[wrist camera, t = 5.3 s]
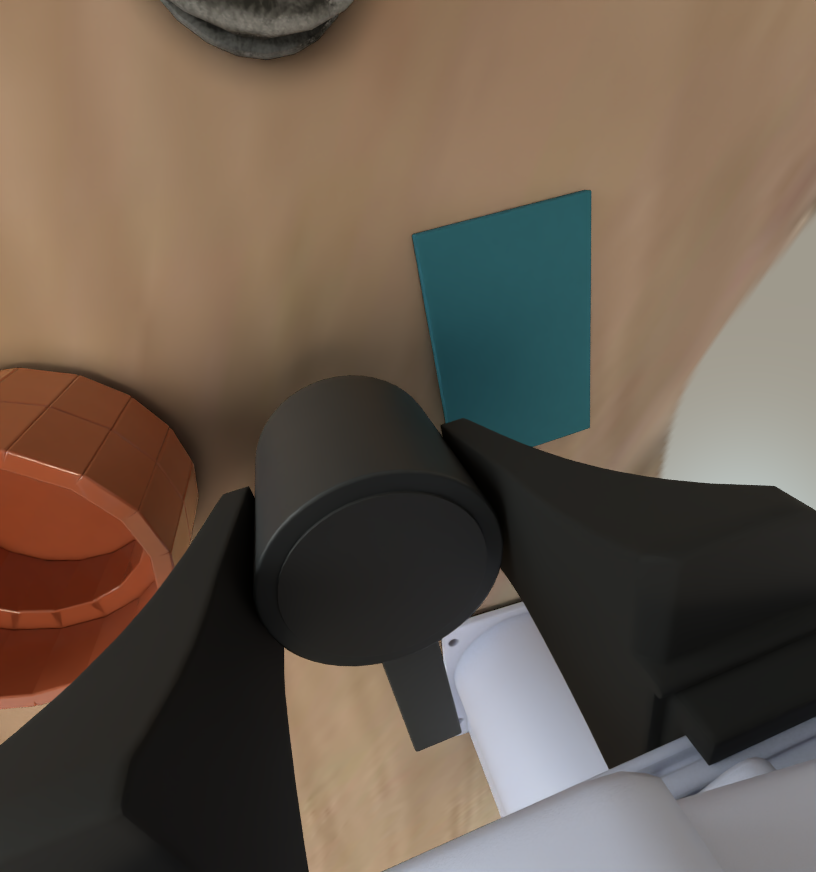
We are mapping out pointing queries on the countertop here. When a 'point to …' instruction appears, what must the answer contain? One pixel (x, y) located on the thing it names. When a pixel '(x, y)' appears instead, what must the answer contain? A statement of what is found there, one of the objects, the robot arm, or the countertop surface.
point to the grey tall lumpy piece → (258, 23)
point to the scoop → (370, 540)
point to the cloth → (513, 317)
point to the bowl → (80, 524)
